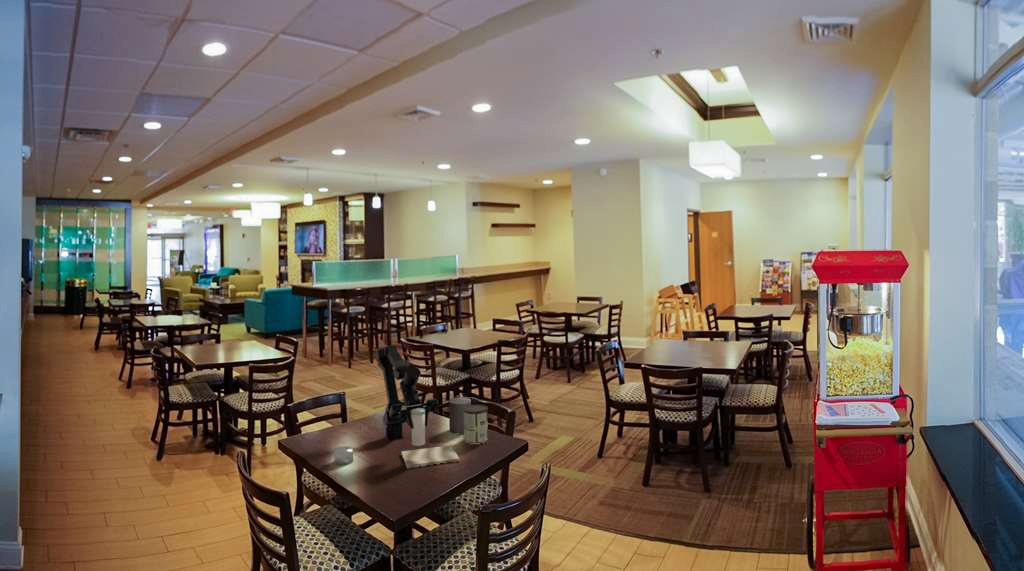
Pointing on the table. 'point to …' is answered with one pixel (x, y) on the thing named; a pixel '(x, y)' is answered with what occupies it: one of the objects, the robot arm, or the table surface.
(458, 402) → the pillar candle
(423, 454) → the birch board
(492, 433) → the table surface
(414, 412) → the white cylinder
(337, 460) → the grey tin
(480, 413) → the coffee can
